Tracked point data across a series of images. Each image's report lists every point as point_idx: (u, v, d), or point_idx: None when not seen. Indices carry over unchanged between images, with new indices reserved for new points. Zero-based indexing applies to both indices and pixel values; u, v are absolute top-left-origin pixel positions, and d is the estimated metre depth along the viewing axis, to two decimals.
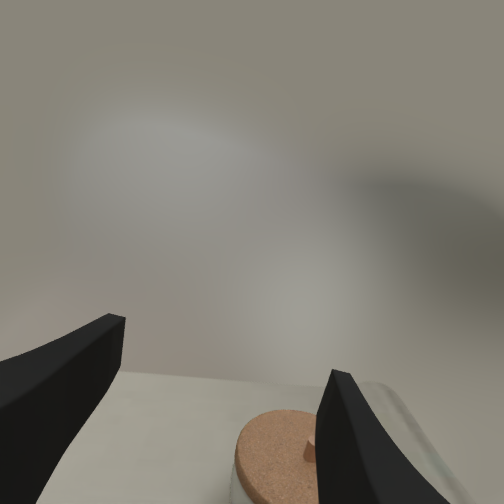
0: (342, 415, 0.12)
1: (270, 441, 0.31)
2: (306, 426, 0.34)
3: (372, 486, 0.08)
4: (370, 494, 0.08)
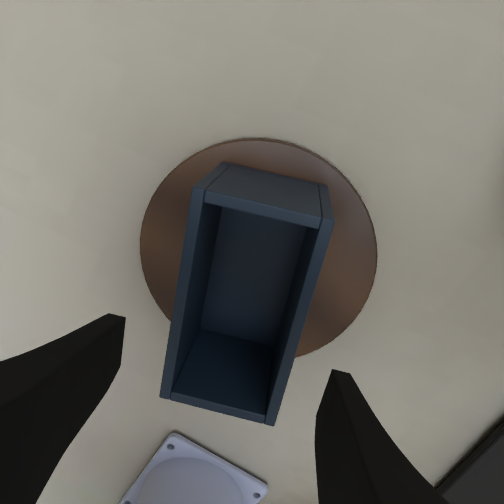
0: (342, 415, 0.12)
1: None
2: None
3: (372, 486, 0.08)
4: (370, 494, 0.08)
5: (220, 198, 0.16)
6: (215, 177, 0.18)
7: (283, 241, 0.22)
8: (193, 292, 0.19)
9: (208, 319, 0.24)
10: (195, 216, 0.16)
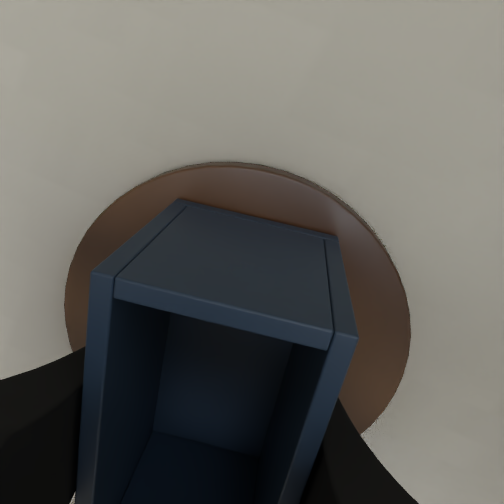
0: None
1: None
2: None
3: (329, 475, 0.09)
4: (327, 483, 0.08)
5: (143, 292, 0.08)
6: (150, 238, 0.10)
7: None
8: (120, 421, 0.11)
9: (164, 419, 0.17)
10: (100, 322, 0.09)
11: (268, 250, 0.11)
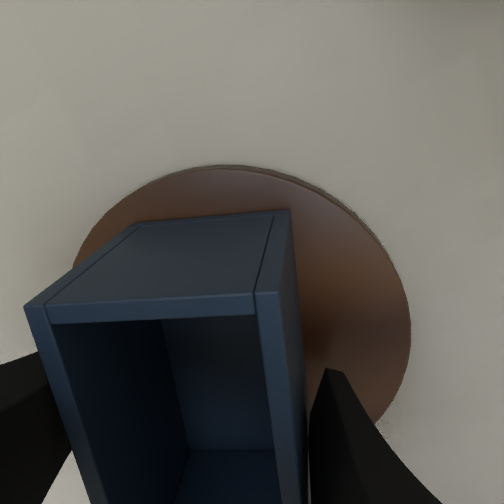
0: (334, 413, 0.12)
1: None
2: None
3: (361, 483, 0.08)
4: (359, 491, 0.08)
5: (73, 311, 0.09)
6: (91, 263, 0.11)
7: None
8: (124, 443, 0.12)
9: (197, 436, 0.17)
10: (50, 350, 0.09)
11: (209, 241, 0.11)
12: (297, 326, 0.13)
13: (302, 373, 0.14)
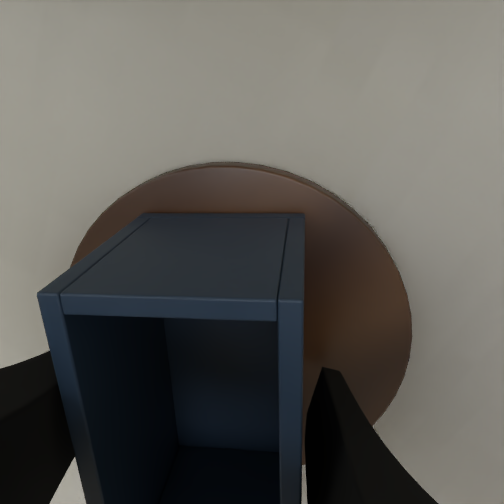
0: (330, 412, 0.12)
1: None
2: None
3: (356, 482, 0.08)
4: (354, 490, 0.08)
5: (89, 302, 0.08)
6: (104, 253, 0.11)
7: None
8: (121, 437, 0.12)
9: (187, 432, 0.17)
10: (60, 340, 0.09)
11: (225, 240, 0.11)
12: None
13: None
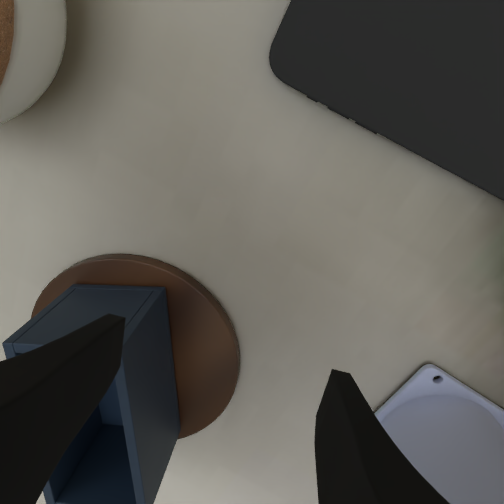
0: (342, 415, 0.12)
1: None
2: None
3: (372, 486, 0.08)
4: (370, 494, 0.08)
5: (26, 347, 0.18)
6: (41, 317, 0.20)
7: None
8: None
9: (107, 415, 0.26)
10: None
11: (107, 308, 0.21)
12: (159, 356, 0.22)
13: (164, 382, 0.23)
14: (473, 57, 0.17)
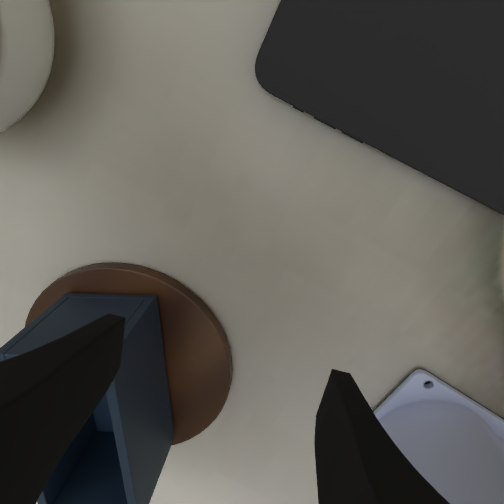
0: (342, 415, 0.12)
1: None
2: None
3: (372, 486, 0.08)
4: (370, 494, 0.08)
5: None
6: (32, 327, 0.20)
7: None
8: None
9: (101, 422, 0.27)
10: None
11: None
12: (151, 364, 0.23)
13: (156, 390, 0.23)
14: (456, 67, 0.18)
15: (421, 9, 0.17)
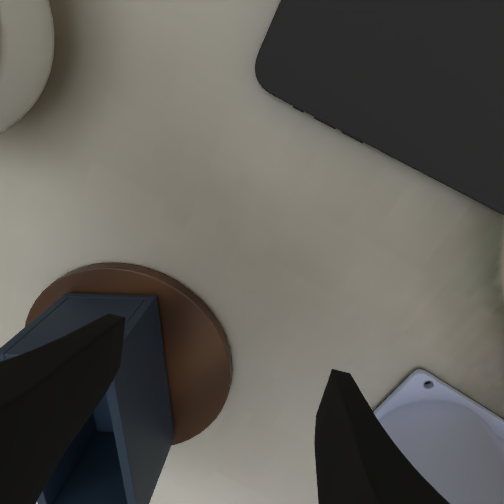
0: (342, 415, 0.12)
1: None
2: None
3: (372, 486, 0.08)
4: (370, 494, 0.08)
5: None
6: (32, 327, 0.20)
7: None
8: None
9: (101, 422, 0.27)
10: None
11: None
12: (151, 364, 0.23)
13: (156, 390, 0.23)
14: (456, 67, 0.18)
15: (421, 9, 0.17)
